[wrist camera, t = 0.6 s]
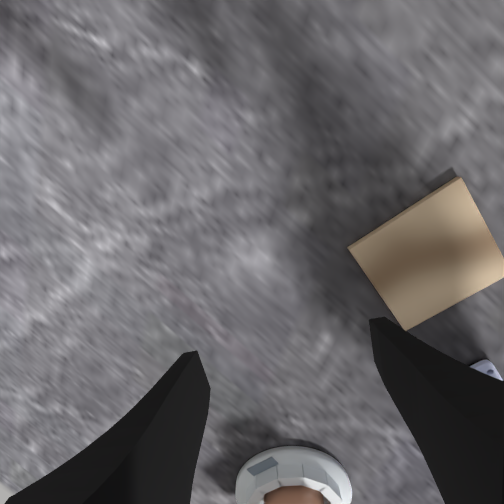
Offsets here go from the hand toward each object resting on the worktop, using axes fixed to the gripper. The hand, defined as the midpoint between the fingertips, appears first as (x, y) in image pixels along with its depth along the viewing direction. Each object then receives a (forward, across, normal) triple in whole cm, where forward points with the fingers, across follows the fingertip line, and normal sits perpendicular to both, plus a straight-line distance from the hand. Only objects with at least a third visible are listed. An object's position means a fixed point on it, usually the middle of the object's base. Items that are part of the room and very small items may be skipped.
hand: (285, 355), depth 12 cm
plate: (+10, +3, +23) cm, 25 cm away
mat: (+10, -10, +2) cm, 14 cm away
